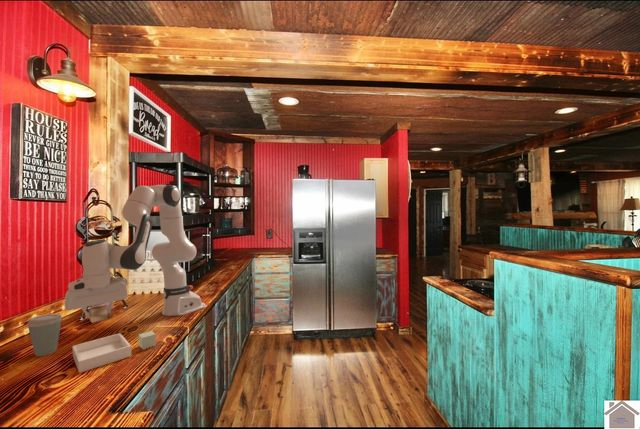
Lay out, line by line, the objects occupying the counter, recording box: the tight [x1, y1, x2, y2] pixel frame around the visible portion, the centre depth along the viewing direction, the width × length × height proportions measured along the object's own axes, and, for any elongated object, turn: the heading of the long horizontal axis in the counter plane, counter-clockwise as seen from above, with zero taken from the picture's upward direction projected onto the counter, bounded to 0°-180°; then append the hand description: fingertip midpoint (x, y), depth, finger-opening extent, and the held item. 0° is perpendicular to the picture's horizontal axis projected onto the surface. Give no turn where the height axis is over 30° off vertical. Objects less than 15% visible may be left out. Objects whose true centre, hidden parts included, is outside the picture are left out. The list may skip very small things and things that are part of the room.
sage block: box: [138, 330, 157, 350], centre depth 124 cm, size 5×5×5 cm
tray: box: [72, 332, 132, 373], centre depth 117 cm, size 16×18×4 cm
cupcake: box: [93, 303, 115, 319], centre depth 159 cm, size 9×9×10 cm
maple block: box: [88, 304, 108, 324], centre depth 119 cm, size 5×5×5 cm
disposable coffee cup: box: [26, 313, 63, 357], centre depth 120 cm, size 11×11×15 cm
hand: (98, 315), depth 119 cm, fingers closed on maple block, 5 cm apart
